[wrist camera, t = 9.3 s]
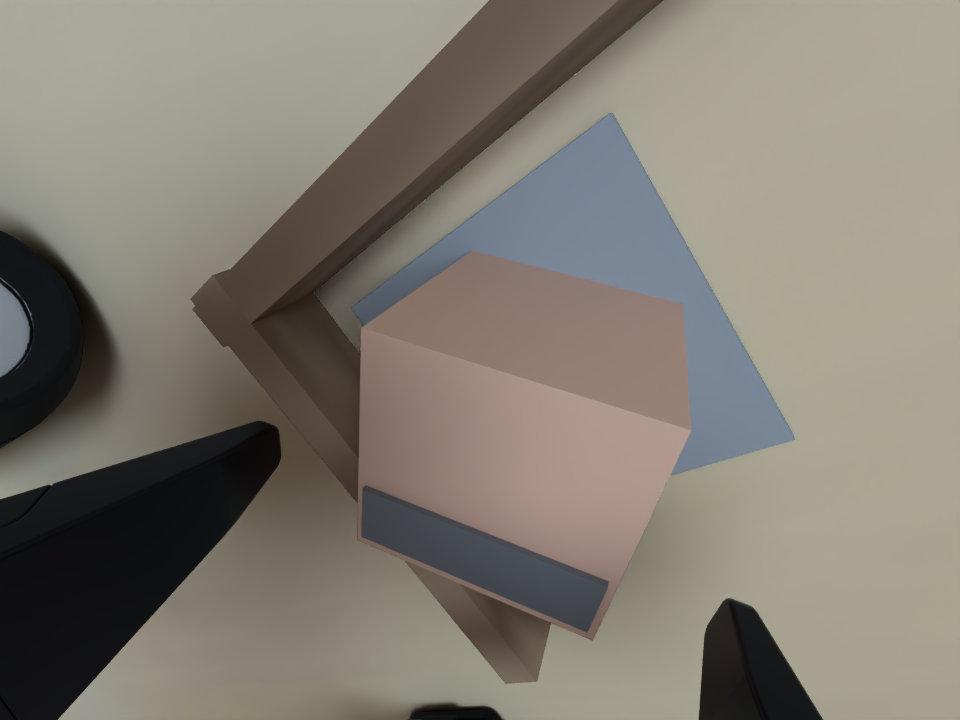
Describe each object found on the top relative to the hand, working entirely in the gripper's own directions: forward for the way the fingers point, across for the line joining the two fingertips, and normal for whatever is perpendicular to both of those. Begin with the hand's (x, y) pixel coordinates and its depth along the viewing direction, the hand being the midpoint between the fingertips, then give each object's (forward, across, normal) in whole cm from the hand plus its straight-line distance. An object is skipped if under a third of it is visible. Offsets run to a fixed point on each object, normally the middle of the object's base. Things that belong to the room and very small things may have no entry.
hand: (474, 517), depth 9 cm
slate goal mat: (+7, 0, 0) cm, 7 cm away
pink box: (+7, 0, 0) cm, 7 cm away
